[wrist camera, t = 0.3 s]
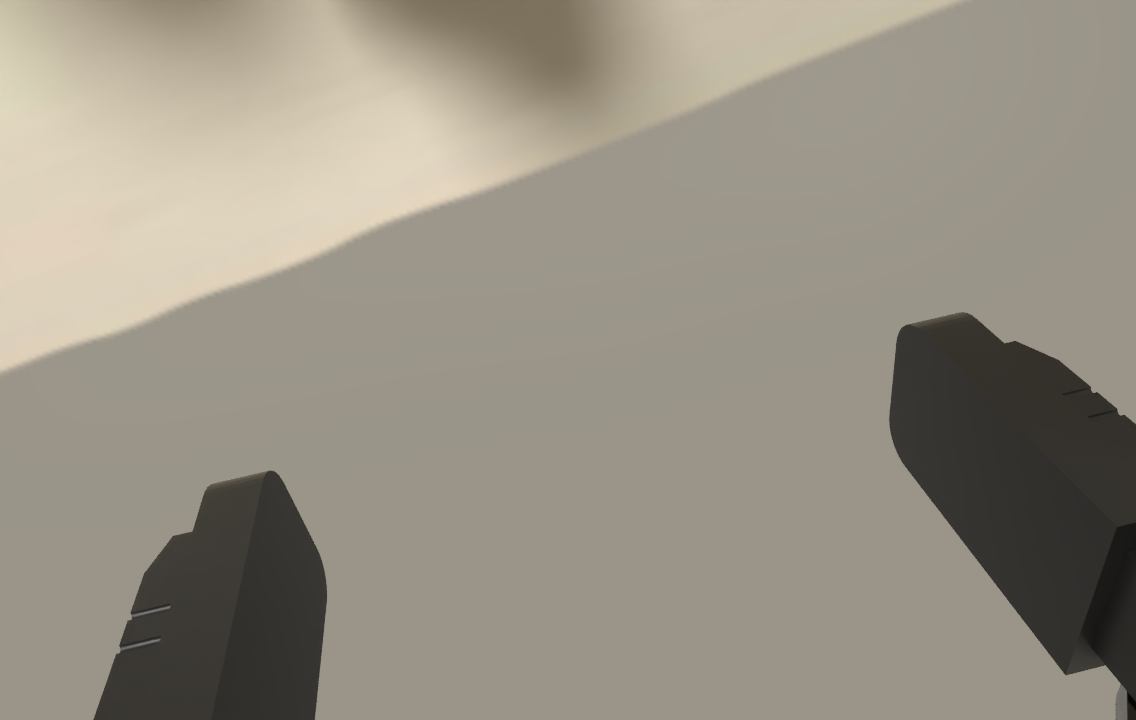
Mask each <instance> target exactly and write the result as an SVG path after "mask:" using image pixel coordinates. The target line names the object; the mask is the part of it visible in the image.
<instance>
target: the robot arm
mask: <svg viewBox="0 0 1136 720" xmlns="http://www.w3.org/2000/svg"><path fill="white" fill-rule="evenodd" d="M889 421H890V431H891V436H892V440H893V443H894V446H895V448H896V451H897V453H898V455H899V457H900V459H901V461H902V462H903V464H904V465H905V467H906V468H907V469H908V471H909V472H910V473H911V474H912V476H913V477H914V478H915V480H916V481H917V482H918V484H919V485H920V486H921V488H922V489H923V490H924V491H925V493H926V494H927V495H928V497H929V498H930V499H931V501H932V502H933V503H934V504H935V505H936V507H937V508H938V510H939V511H940V512H941V514H942V515H943V516H944V517H945V519H946V520H947V521H948V522H949V524H950V525H951V527H952V528H953V529H954V530H955V532H956V533H957V534H958V535H959V537H960V538H961V540H962V541H963V542H964V543H965V545H966V546H967V547H968V549H969V550H970V551H971V553H972V554H973V555H974V556H975V558H976V559H977V560H978V562H979V563H980V564H981V565H982V567H983V568H984V570H985V571H986V572H987V573H988V575H989V576H990V577H991V578H992V580H993V581H994V582H995V584H996V585H997V586H998V588H999V589H1000V590H1001V592H1002V593H1003V594H1004V596H1005V597H1006V598H1007V600H1008V601H1009V602H1010V603H1011V605H1012V606H1013V607H1014V609H1015V610H1016V611H1017V613H1018V614H1019V615H1020V616H1021V618H1022V619H1023V620H1024V622H1025V623H1026V624H1027V625H1028V627H1029V628H1030V629H1031V631H1032V632H1033V633H1034V635H1035V636H1036V637H1037V639H1038V640H1039V641H1040V642H1041V644H1042V645H1043V646H1044V648H1045V649H1046V650H1047V651H1048V653H1049V654H1050V655H1051V657H1052V658H1053V659H1054V661H1055V662H1056V663H1057V665H1058V666H1059V667H1060V668H1061V670H1062V671H1063V672H1064V674H1065V675H1069V674H1073V673H1076V672H1080V671H1085V670H1088V669H1092V668H1096V667H1100V666H1104V665H1106V666H1107V667H1108V668H1109V670H1110V671H1111V672H1112V673H1113V675H1114V676H1115V677H1116V678H1117V679H1118V681H1119V682H1120V683H1121V685H1120V688H1119V690H1118V693H1117V696H1116V720H1136V424H1135V423H1133V422H1132V421H1131V420H1130V419H1129V418H1127V417H1126V416H1125V415H1122V416H1120V415H1119V414H1118V412H1117V408H1116V407H1114V406H1113V405H1112V404H1111V403H1109V402H1108V401H1107V400H1106V399H1105V398H1103V397H1102V396H1101V395H1100V394H1099V393H1097V392H1096V393H1092V391H1091V387H1090V386H1089V385H1088V384H1087V383H1085V382H1084V381H1083V380H1082V379H1081V378H1079V377H1078V376H1077V375H1076V374H1075V373H1073V372H1072V371H1071V370H1070V369H1069V368H1067V367H1066V366H1065V365H1064V364H1063V363H1061V362H1060V361H1059V360H1057V359H1055V358H1053V357H1050V356H1048V355H1046V354H1044V353H1041V352H1039V351H1037V350H1035V349H1032V348H1030V347H1028V346H1026V345H1023V344H1021V343H1019V342H1016V341H1013V342H1009V343H1005V344H1004V343H1003V342H1002V341H1001V340H1000V339H999V338H998V337H996V336H995V335H994V334H993V333H992V332H991V331H990V330H988V329H987V328H986V327H985V326H984V325H983V324H982V323H980V322H979V321H978V320H977V319H976V318H974V317H973V316H972V315H970V314H968V313H964V312H962V313H956V314H952V315H948V316H943V317H939V318H935V319H931V320H926V321H922V322H917V323H913V324H909V325H905V326H904V327H902V328H901V330H900V332H899V334H898V337H897V343H896V353H895V364H894V375H893V385H892V395H891V406H890V417H889ZM326 603H327V586H326V578H325V572H324V568H323V564H322V560H321V557H320V554H319V552H318V550H317V548H316V546H315V544H314V542H313V540H312V538H311V536H310V534H309V532H308V530H307V528H306V526H305V524H304V522H303V520H302V518H301V516H300V514H299V512H298V510H297V508H296V506H295V504H294V502H293V500H292V498H291V496H290V494H289V492H288V490H287V489H286V486H285V484H284V483H283V481H282V479H281V478H280V476H279V475H278V474H277V473H276V472H274V471H266V472H262V473H258V474H253V475H249V476H245V477H241V478H236V479H232V480H228V481H223V482H219V483H215V484H212V485H210V486H208V487H207V490H206V491H205V493H204V496H203V499H202V502H201V506H200V509H199V512H198V516H197V519H196V522H195V526H194V529H193V532H189V533H185V534H180V535H176V536H173V537H172V538H171V540H170V541H169V542H168V543H167V545H166V546H165V547H164V549H163V550H162V551H161V553H160V554H159V555H158V556H157V558H156V559H155V560H154V562H153V563H152V564H151V565H150V567H149V568H148V570H147V571H146V572H145V573H144V576H143V579H142V582H141V585H140V587H139V590H138V593H137V596H136V599H135V602H134V605H133V607H132V610H131V614H132V620H129V621H128V622H127V625H126V628H125V630H124V633H123V636H122V639H121V642H120V645H119V646H120V649H121V652H120V653H119V654H116V657H115V659H114V662H113V665H112V668H111V671H110V674H109V677H108V680H107V683H106V685H105V688H104V691H103V694H102V697H101V700H100V703H99V706H98V708H97V711H96V714H95V717H94V720H315V712H316V702H317V691H318V681H319V672H320V662H321V653H322V642H323V633H324V623H325V613H326Z"/></svg>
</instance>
